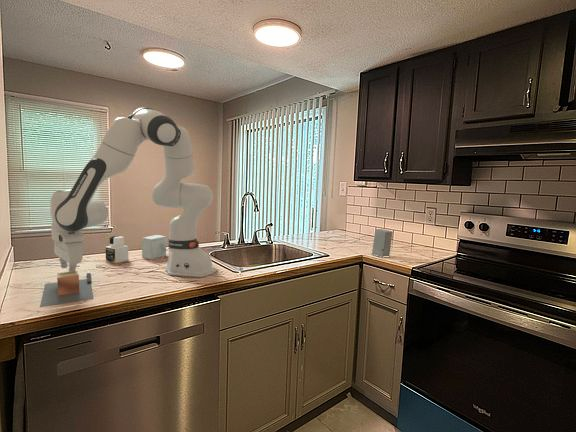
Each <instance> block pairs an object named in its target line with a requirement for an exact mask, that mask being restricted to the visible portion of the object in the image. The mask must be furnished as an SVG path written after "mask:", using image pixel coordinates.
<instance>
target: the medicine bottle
mask: <svg viewBox="0 0 576 432" xmlns="http://www.w3.org/2000/svg"><path fill="white" fill-rule="evenodd" d="M105 261H106V262H109V263H113V264H118V263H122V262H126V261H129V246H128V245H125V237H124V236H123V235H112V236H110V237H109V245H108V246H107V245H106V246H105Z"/></svg>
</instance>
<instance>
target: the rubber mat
mask: <svg viewBox="0 0 576 432" xmlns="http://www.w3.org/2000/svg"><path fill="white" fill-rule="evenodd" d="M92 286H93V285H92V281H91V282H90V283H88V282H87V278H82V279H79V292H77V293H71V294H64V295H58V284H57V282H49V283H44V287H43V292H42V295H41V296H42V297H41V301H40V305H39V308H43V307H50V306H58V305H65V304H70V303H71V304H72V303H77V302H83V301H84V302H85V301H90V300H94V299H95V298H94V293H93V287H92Z"/></svg>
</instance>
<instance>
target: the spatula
mask: <svg viewBox="0 0 576 432" xmlns="http://www.w3.org/2000/svg"><path fill="white" fill-rule="evenodd" d="M93 268H94V269H97V265H96V263H95V262H88V263H87V262H86V263H79V271H80V270H81V271H82V269H84V270H86V272H87V273H86V279H87V282H88V283H90V282H91V283H92V274H91V272H90V270H93Z"/></svg>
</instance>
